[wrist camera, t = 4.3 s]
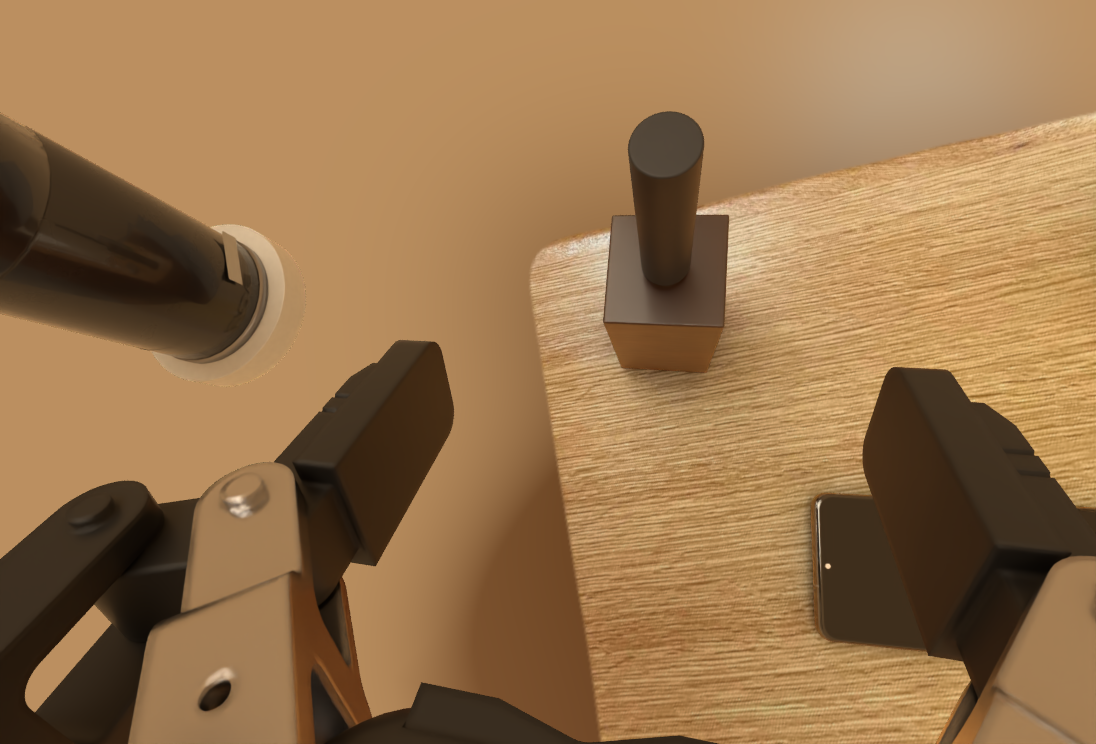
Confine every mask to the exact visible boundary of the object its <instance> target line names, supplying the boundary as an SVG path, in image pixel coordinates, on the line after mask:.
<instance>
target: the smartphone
mask: <svg viewBox="0 0 1096 744" xmlns="http://www.w3.org/2000/svg"><path fill="white" fill-rule="evenodd" d="M1076 508H1077V509H1078V511H1079V512H1080V513H1081V515H1082V516H1083V517H1084V519H1085V520H1086V521H1087V523H1088V524H1089V525H1090V527H1091V528H1092V529H1093V531H1094V532H1095V534H1096V508H1090V507H1076ZM811 528H812V558H813V587H814V616H815V626H816V629H817V631H818V633H819V634H820V635H821V636H822V637H823V638H824V639H826V640H828V641H832V642H839V643H848V644H858V645H867V646H876V647H886V648H895V649H905V650H914V651H923V652H927V650H926V647H925V645H924V642H923V639H922V636H921V633H920V630H919V628H918V625H917V622H916V619H915V616H914V613H913V610H912V608H911V605H910V602H909V599H908V596H907V593H906V590H905V588H904V585H903V582H902V579H901V576H900V573H899V570H898V568H897V565H896V562H895V559H894V556H893V553H892V551H891V548H890V545H889V542H888V539H887V536H886V533H885V531H884V528H883V525H882V522H881V519H880V516H879V513H878V511H877V508H876V505H875V502H874V499H873V496H872V495H859V494H841V493H821V494H818V495H816V496H815V497H814V498H813V500H812V503H811Z"/></svg>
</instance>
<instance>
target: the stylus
mask: <svg viewBox="0 0 1096 744" xmlns="http://www.w3.org/2000/svg"><path fill="white" fill-rule="evenodd" d="M703 150H704V136H703V133H702V131H701V128H700V127H699V125H698V124H697V123H696V122H695V121H694V120H693V119H692V118H690V117H689V116H687V115H685V114H682V113H678V112H661V113H657V114H654V115H652V116H650V117H648V118H646V119H645V120H643V121H642V122H641V123H640V124H639V125H638V126H637V127H636V128H635V130H634V131H633V133H632V135H631V137H630V140H629V144H628V154H629V163H630V172H631V181H632V188H633V197H634V206H635V215H636V223H637V232H638V241H639V249H640V258H641V266H642V271H643V273H644V275H645V276H646V278H647V279H648V280H650V281H651V282H653V283H655V284H657V285H662V286H668V285H673V284H675V283H677V282H679V281H681V280H682V279H683V278H684V277H685V276H686V275H687V273H688V271H689V268H690V264H691V255H692V246H693V238H694V229H695V220H696V211H697V203H698V194H699V185H700V175H701V168H702V159H703Z"/></svg>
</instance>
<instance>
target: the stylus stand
mask: <svg viewBox="0 0 1096 744" xmlns="http://www.w3.org/2000/svg"><path fill="white" fill-rule="evenodd" d="M728 230H729V215H696V220H695V229H694V238H693V246H692V255H691V264H690V268H689V271H688V273H687V275H686V276H685V277H684V278H683V279H682V280H681V281H679V282H677V283H675V284H673V285H668V286H662V285H657V284H655V283H653V282H651V281H650V280H648V279H647V278H646V276H645V275H644V273H643V271H642V266H641V258H640V249H639V241H638V232H637V223H636V215H628V216H627V215H625V216H624V215H620V216H612V223H611V235H610V246H609V258H608V270H607V282H606V294H605V306H604V318H603V322H604V325H605V327H606V330H607V332H608V335H609V337H610V340H611V342H612V345H613V347H614V350H615V352H616V355H617V357H618V360H619V362H620V365H621V367H622V368H632V369H650V370H668V371H685V372H703V373H706V372H707V370H708V367H709V365H710V362H711V359H712V357H713V354H714V352H715V349H716V346H717V344H718V341H719V339H720V336H721V333H722V331H723V328H724V321H725V298H726V276H727V253H728Z"/></svg>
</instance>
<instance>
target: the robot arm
mask: <svg viewBox="0 0 1096 744" xmlns="http://www.w3.org/2000/svg"><path fill="white" fill-rule="evenodd" d="M267 299H268V279H267V274H266V270H265V268H264V265H263V263H262V261H261V260H260V258H259V257H258V255H257V254H256V253H255V252H254V251H253V250H252V249H250V248H249V247H248V246H246V245H244V244H242V243H241V242H239V241H237V240H236V238H235V237H233V236H231V235H229V234H227V233H226V232H224V231H222V234H221V233H219V232H218V231H216V230H214V229H212V228H210V227H209V226H207V225H205V224H203V223H201V222H200V221H198V220H196V219H195V218H193V217H191V216H189V215H187V214H185V213H184V212H182V211H180V210H178V209H176V208H174V207H173V206H171V205H169V204H167V203H165V202H164V201H162V200H160V199H158V198H156V197H154V196H153V195H151V194H149V193H147V192H145V191H143V190H142V189H140V188H138V187H136V186H134V185H133V184H131V183H129V182H127V181H125V180H124V179H122V178H120V177H118V176H116V175H114V174H113V173H111V172H109V171H107V170H105V169H103V168H102V167H100V166H98V165H96V164H94V163H92V162H91V161H89V160H87V159H85V158H83V157H82V156H80V155H78V154H76V153H74V152H73V151H71V150H69V149H67V148H65V147H63V146H62V145H60V144H58V143H56V142H54V141H52V140H50V139H49V138H47V137H45V136H43V135H41V134H40V133H38V132H36V131H34V130H32V129H31V128H29V127H27V126H24V125H23V124H21V123H19V122H17V121H15V120H13V119H12V118H10V117H8V116H6V115H4V114H2V113H1V112H0V314H3V315H7V316H11V317H15V318H19V319H23V320H27V321H31V322H35V323H39V324H43V325H48V326H51V327H55V328H60V329H64V330H68V331H72V332H76V333H80V334H84V335H88V336H92V337H96V338H100V339H104V340H109V341H112V342H117V343H121V344H125V345H129V346H133V347H137V348H140V349H144V350H148V351H152V352H157V353H161V354H165V355H169V356H172V357H174V358H177V359H179V360H183V361H187V362H191V363H198V364H205V363H212V362H216V361H219V360H222V359H224V358H226V357H228V356H230V355H231V354H233V353H234V352H236V351H237V350H238V349H240V348H241V347H242V346H243V345H244V344H245V343H246V342H247V341H248V340H249V339H250V337H251V336H252V335H253V333H254V332H255V331H256V329H257V327H258V326H259V324H260V322H261V320H262V317H263V315H264V312H265V309H266V305H267ZM453 417H454V406H453V401H452V396H451V391H450V387H449V382H448V378H447V373H446V369H445V364H444V360H443V355H442V351H441V349H440V347H439V345H438V344H437V343H436V342H427V341H408V340H399V341H397V342H395V343H394V344H393V345H392V346H391V348H390V349H389V350H388V351H387V352H386V353H385V355H384V356H383V357H382V358H381V359H380V361H379V362H378V363H372V364H370V365H369V366H367V367H366V368H364V369H363V370H361V371H359V372H358V373H356V374H354V375H353V376H351V377H350V378H349V379H348V380H347V381H346V382H345V384H344V385H343V386H342V387H341V388H340V389H339V390H338V391H337V392H336V394H335V398H333V397H332V398H331V399H330V400H329V402H327V404H326V405H325V406H324V407H323V411H322V412H318V414H317V415H316V416H315V417H314V418H313V419H312V421H310V422H309V424H308V425H307V426H306V427H305V428H304V429H303V430H302V431H301V433H300V434H299V435H298V436H297V437H296V438H295V439H294V440H293V441H292V442H291V444H290V445H289V446H288V447H287V448H286V449H285V450H284V451H283V452H282V454H281V455H280V456H279V457H278V458H277V459H276V460H275V461H274V462H263V463H256V464H252V465H248V466H245V467H242V468H240V469H237V470H235V471H233V472H231V473H229V474H228V475H225V476H224V477H222V478H221V479H219V480H218V481H216V482H215V483H214V484H213V485H211V486H210V487H209V488H208V489H207V490H206V491H205V493H203V495H202V496H201V497H200V498H197V499H190V500H183V501H176V502H170V503H162V504H157V502H156V501H155V499H154V498H153V496H152V495H151V494H150V492H149V491H148V489H147V488H146V486H144V485H143V484H142V483H139V482H135V481H119V482H114V483H110V484H106V485H102V486H99V487H97V488H94V489H92V490H89V491H87V492H85V493H83V494H81V495H79V496H78V497H76V498H74V499H73V500H71V501H69V502H68V503H66V504H65V505H63V506H62V507H61V508H60V509H58V510H57V511H56V512H55V513H54V514H52V515H51V516H50V517H49V518H48V519H47V520H45V521H44V522H43V523H42V524H41V525H40V526H38V527H37V528H36V529H35V530H34V531H33V532H31V533H30V534H29V535H28V536H27V537H26V538H24V539H23V540H22V541H21V542H20V543H19V544H18V545H16V546H15V547H14V548H13V549H12V550H10V551H9V552H8V553H7V554H6V555H5V556H3V557H2V558H1V559H0V744H717V743H713V742H708V741H703V740H698V739H693V738H688V737H684V736H667V737H655V738H642V739H630V740H617V741H605V742H592V743H587V742H581V741H577V740H575V739H573V738H571V737H569V736H567V735H565V734H563V733H562V732H560V731H558V730H556V729H554V728H552V727H551V726H549V725H547V724H545V723H543V722H541V721H540V720H538V719H536V718H534V717H532V716H530V715H529V714H527V713H525V712H523V711H521V710H519V709H518V708H516V707H514V706H512V705H510V704H508V703H507V702H505V701H503V700H501V699H499V698H495V697H489V696H485V695H480V694H475V693H470V692H465V691H460V690H456V689H451V688H446V687H441V686H436V685H432V684H427V683H421V685H420V688H419V690H418V692H417V695H416V697H415V700H414V703H413V705H412V707H411V708H406V709H402V710H397V711H393V712H388V713H384V714H382V715H379V716H376V717H374V718H372V716H371V712H370V709H369V706H368V703H367V700H366V697H365V694H364V690H363V687H362V683H361V678H360V673H359V666H358V660H357V654H356V647H355V641H354V635H353V628H352V622H351V616H350V610H349V604H348V597H347V590H346V586H345V582H344V580H343V578H342V576H343V573H344V572H345V571H346V569H347V567H348V566H349V564H350V562H352V563H358V564H365V565H371V566H376V565H377V563H378V561H379V559H380V557H381V556H382V554H383V552H384V550H385V548H386V547H387V544H388V543H389V541H390V539H391V538H392V536H393V534H394V532H395V531H396V529H397V527H398V525H399V523H400V522H401V520H402V518H403V516H404V514H405V513H406V511H407V509H408V507H409V506H410V504H411V502H412V500H413V498H414V496H415V495H416V493H417V491H418V489H419V487H420V486H421V484H422V482H423V480H424V479H425V477H426V475H427V473H428V472H429V470H430V468H431V466H432V464H433V463H434V461H435V459H436V457H437V455H438V453H439V452H440V450H441V448H442V446H443V445H444V443H445V441H446V439H447V438H448V436H449V433H450V431H451V428H452V424H453ZM863 468H864V473H865V476H866V479H867V482H868V485H869V488H870V491H871V494H872V496H873V499H874V502H875V505H876V508H877V511H878V513H879V516H880V519H881V522H882V525H883V528H884V531H885V533H886V536H887V539H888V542H889V545H890V548H891V551H892V553H893V556H894V559H895V562H896V565H897V568H898V570H899V573H900V576H901V579H902V582H903V585H904V588H905V590H906V593H907V596H908V599H909V602H910V605H911V608H912V610H913V613H914V616H915V619H916V622H917V625H918V628H919V630H920V633H921V636H922V639H923V642H924V645H925V647H926V650H927V653H928V656H934V657H940V658H946V659H953V660H959V661H964V664H965V666H966V669H967V671H968V674H969V676H970V679H971V681H970V683H969V684H968V685H967V687H966V688H965V690H964V691H963V693H962V695H961V697H960V698H959V700H958V702H957V704H956V706H955V708H954V710H953V711H952V713H951V715H950V717H949V719H948V721H947V723H946V725H945V726H944V728H943V730H942V732H941V734H940V736H939V738H938V739H937V741H936V743H935V744H1096V534H1095V532H1094V531H1093V529H1092V528H1091V527H1090V525H1089V524H1088V523H1087V521H1086V520H1085V519H1084V517H1083V516H1082V515H1081V513H1080V512H1079V511H1078V509H1077V508H1076V507H1075V505H1074V504H1073V502H1072V501H1071V500H1070V498H1069V497H1068V496H1067V494H1066V493H1065V492H1064V490H1063V489H1062V488H1061V486H1060V485H1059V484H1058V482H1057V481H1056V479H1055V478H1050V471H1049V470H1048V469H1047V467H1046V466H1045V465H1044V463H1043V462H1042V461H1041V459H1040V458H1039V456H1034V450H1033V448H1032V447H1031V446H1030V444H1029V443H1028V442H1027V440H1026V439H1025V438H1024V436H1023V435H1022V433H1021V432H1020V431H1019V429H1018V428H1017V427H1016V425H1014V424H1013V423H1011V422H1010V421H1009V420H1007V419H1006V418H1004V417H1003V416H1002V415H1000V414H999V413H997V412H996V411H995V410H993V409H992V408H990V407H989V406H988V405H986V404H985V403H975V402H970V400H969V399H968V397H967V396H966V394H965V393H964V391H963V390H962V388H961V387H960V385H959V384H958V382H957V381H956V379H955V378H954V376H953V375H952V374H951V372H949V371H948V370H942V369H923V368H904V367H893V368H891V369H890V370H889V371H888V373H887V374H886V376H885V379H884V381H883V384H882V387H881V390H880V393H879V396H878V399H877V402H876V406H875V409H874V412H873V415H872V418H871V421H870V424H869V427H868V430H867V433H866V436H865V439H864V444H863ZM93 605H95V606H96V607H97V608H98V609H99V610H100V611H101V612H102V613H103V614H104V615H105V616H106V617H107V618H108V620H109V621H110V622H111V623H112V624H111V625H110V626H109V628H108V629H107V630H106V631H105V632H104V633H103V634H102V636H101V637H100V638H99V639H98V640H97V641H96V643H95V644H94V645H93V646H92V647H91V648H90V649H89V651H88V652H87V653H86V654H85V655H84V656H83V658H82V659H81V660H80V661H79V662H78V663H77V664H76V666H75V667H74V668H73V669H72V670H71V671H70V673H69V674H68V675H67V676H66V677H65V678H64V680H63V681H62V682H61V683H60V684H59V685H58V687H57V688H56V689H55V690H54V691H53V692H52V693H51V695H50V696H49V697H48V698H47V699H46V700H45V701H44V703H43V704H42V705H41V706H40V707H39V708H38V710H37V711H36V712H33V711H32V710H31V709H30V708H29V707H28V706H27V704H26V702H25V689H26V685H27V683H28V680H29V678H30V676H31V674H32V673H33V671H34V670H35V668H36V667H37V666H38V665H39V663H40V662H41V661H42V660H43V659H44V658H45V657H46V656H47V655H48V654H49V653H50V651H51V650H52V649H53V648H54V647H55V646H56V645H57V644H58V643H59V642H60V641H61V640H62V638H63V637H64V636H65V635H66V634H67V633H68V632H69V631H70V630H71V628H73V627H74V625H75V624H76V623H77V622H78V621H79V620H80V619H81V618H82V617H83V616H84V615H85V614H86V612H87V611H88V610H89V609H90V608H91V607H92V606H93Z"/></svg>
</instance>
